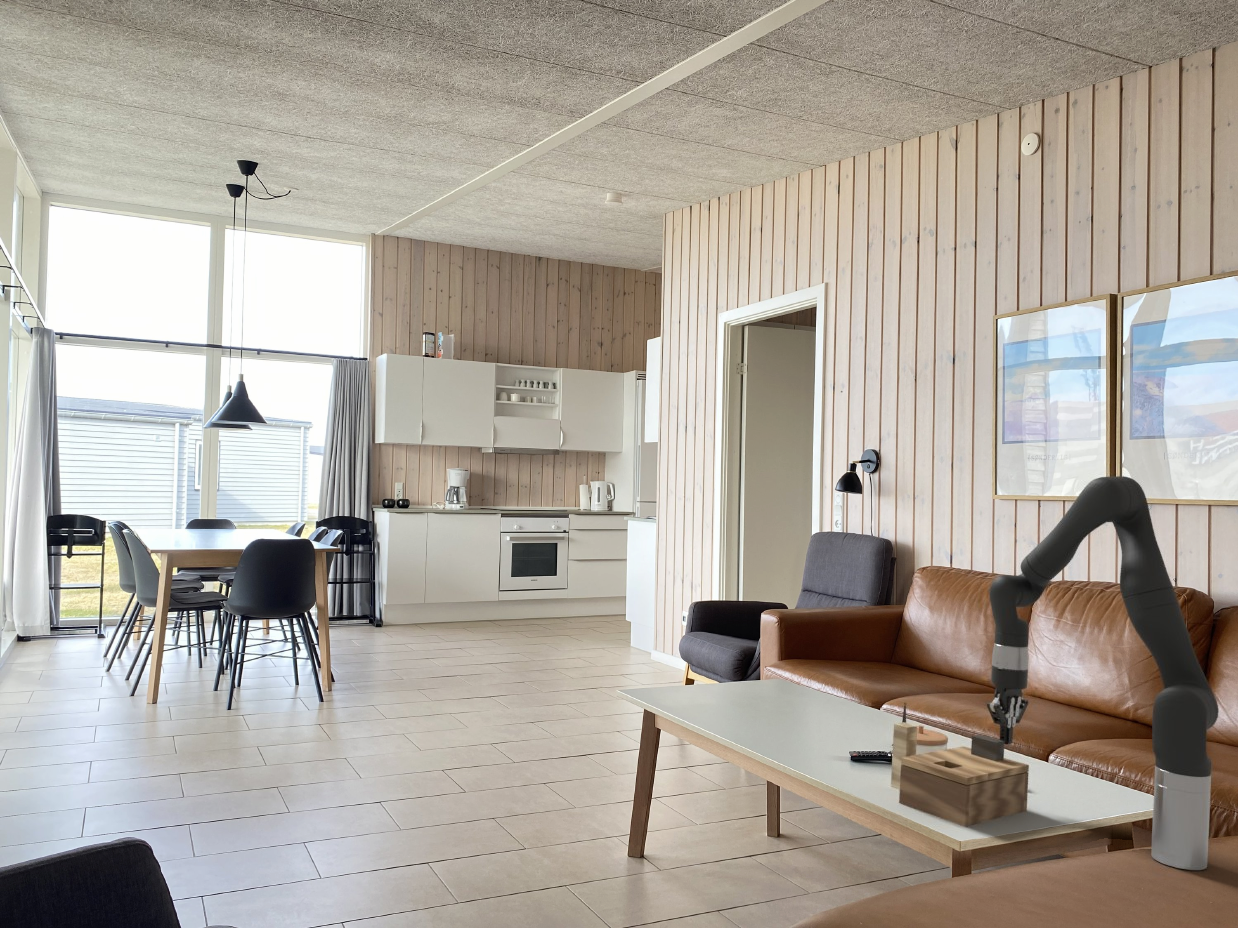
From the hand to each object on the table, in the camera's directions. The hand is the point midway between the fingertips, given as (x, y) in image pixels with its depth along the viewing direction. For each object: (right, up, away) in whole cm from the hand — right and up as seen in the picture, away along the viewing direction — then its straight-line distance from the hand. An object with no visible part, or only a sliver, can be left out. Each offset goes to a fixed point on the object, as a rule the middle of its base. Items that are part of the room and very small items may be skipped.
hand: (1005, 743), depth 219 cm
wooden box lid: (-12, -3, -9) cm, 15 cm away
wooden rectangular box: (-13, -12, -9) cm, 20 cm away
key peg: (-22, -12, +2) cm, 25 cm away
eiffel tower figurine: (-10, -14, +43) cm, 47 cm away
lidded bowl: (-13, -13, +20) cm, 27 cm away
